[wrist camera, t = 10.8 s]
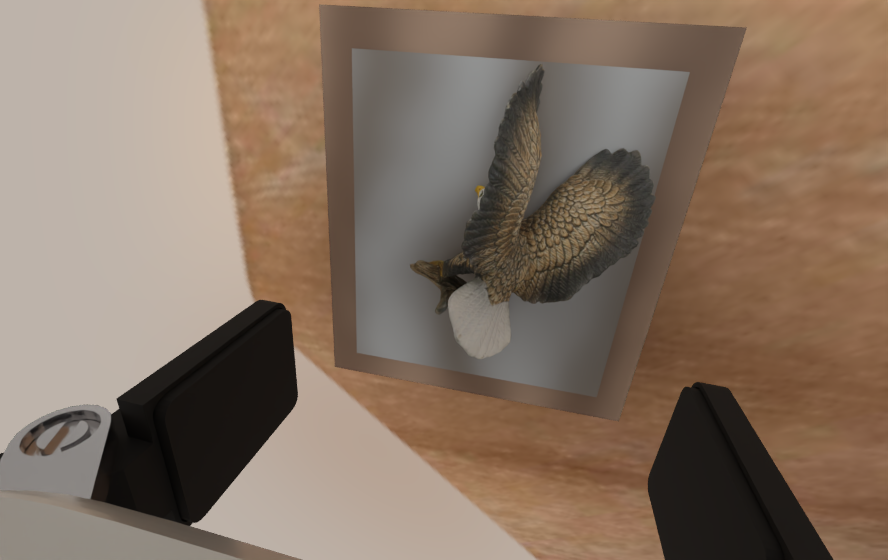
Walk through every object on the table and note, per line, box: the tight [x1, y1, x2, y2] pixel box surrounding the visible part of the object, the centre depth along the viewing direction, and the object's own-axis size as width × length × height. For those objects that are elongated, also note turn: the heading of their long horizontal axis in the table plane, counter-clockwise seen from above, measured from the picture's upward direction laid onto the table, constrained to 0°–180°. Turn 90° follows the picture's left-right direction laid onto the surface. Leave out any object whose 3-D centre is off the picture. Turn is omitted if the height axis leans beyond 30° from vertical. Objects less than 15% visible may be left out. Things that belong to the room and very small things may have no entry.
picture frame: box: [319, 5, 746, 421], centre depth 21 cm, size 16×18×3 cm
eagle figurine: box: [410, 64, 656, 359], centre depth 16 cm, size 8×7×9 cm
